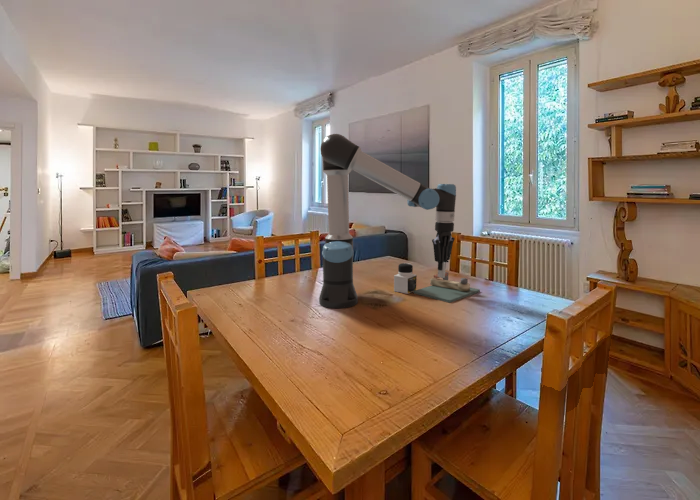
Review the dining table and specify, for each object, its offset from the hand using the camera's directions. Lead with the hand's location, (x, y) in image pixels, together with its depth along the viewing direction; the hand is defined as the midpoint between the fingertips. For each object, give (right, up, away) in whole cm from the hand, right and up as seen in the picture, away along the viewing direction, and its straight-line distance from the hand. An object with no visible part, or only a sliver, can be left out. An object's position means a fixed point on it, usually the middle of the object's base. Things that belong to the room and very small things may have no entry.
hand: (441, 277), depth 161 cm
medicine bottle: (-15, -6, +4) cm, 17 cm away
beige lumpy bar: (+5, -5, +4) cm, 8 cm away
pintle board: (+3, -7, +1) cm, 7 cm away
